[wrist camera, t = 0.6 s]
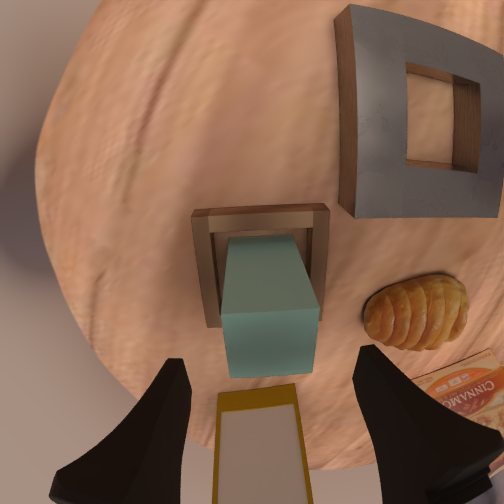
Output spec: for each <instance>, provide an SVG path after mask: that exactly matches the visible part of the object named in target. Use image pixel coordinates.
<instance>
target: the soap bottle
mask: <svg viewBox="0 0 504 504" xmlns="http://www.w3.org/2000/svg"><path fill="white" fill-rule="evenodd" d="M212 491H213V492H212V504H313V497H312V490H311V483H310V476H309V470H308V463H307V457H306V450H305V444H304V438H303V431H302V425H301V419H300V413H299V407H298V401H297V395H296V389H295V383H294V384H288V385H282V386H275V387H268V388H261V389H253V390H245V391H236V392H226V393H218V403H217V418H216V434H215V451H214V470H213V490H212Z"/></svg>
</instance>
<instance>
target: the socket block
mask: <svg viewBox="0 0 504 504" xmlns="http://www.w3.org/2000/svg"><path fill="white" fill-rule="evenodd" d="M334 25H335V36H336V48H337V62H338V80H339V106H340V176H339V204H340V205H341V206H342V207H343V208H344V209H345V210H346V211H347V212H348V213H349V214H350V215H351V216H352V217H353V218H354V219H357V218H412V217H479V218H497V217H498V212H499V206H500V200H501V194H502V187H503V179H504V58H503V55H502V54H500V53H498V52H496V51H494V50H492V49H490V48H488V47H486V46H484V45H482V44H480V43H478V42H475V41H473V40H471V39H469V38H466V37H464V36H462V35H459V34H457V33H454V32H452V31H449V30H447V29H444V28H441V27H438V26H436V25H433V24H430V23H427V22H424V21H421V20H417V19H414V18H411V17H407V16H404V15H400V14H396V13H392V12H388V11H384V10H380V9H375V8H370V7H365V6H360V5H354V4H349V5H348V6H347V7H346V8H345V9H344V10H343V11H342V12H341V13H340V14H339V15H338V16H337V17H336V18H335V19H334ZM406 72H408V73H412V74H417V75H421V76H425V77H429V78H433V79H437V80H441V81H444V82H448V83H451V84H453V87H454V143H453V160H452V164H446V163H437V162H427V161H417V160H406V157H407V80H406Z"/></svg>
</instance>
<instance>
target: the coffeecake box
mask: <svg viewBox="0 0 504 504" xmlns="http://www.w3.org/2000/svg"><path fill="white" fill-rule="evenodd" d="M411 381H412V382H413V383H415V384H416V385H417V386H418V387H419V388H421V389H422V390H423V391H424V392H426V393H427V394H428V395H429V396H431V397H432V398H434V399H435V400H437V401H438V402H439V403H441V404H442V405H444V406H445V407H447V408H449V409H450V410H452V411H454V412H456V413H458V414H459V415H461V416H463V417H465V418H467V419H469V420H472V421H474V422H476V423H479V424H481V425H484V426H487V427H490V428H493V429H496V430H499V431H500V433H501V435H502V437H503V438H504V368H503V366H502V365H501V364H500V362H499V361H498V360H497V358H496V357H495V356H494V354H493V353H492V352H491V350H490V349H487V350H485V351H483V352H481V353H479V354H477V355H474V356H472V357H470V358H468V359H465V360H463V361H461V362H458V363H456V364H454V365H451V366H449V367H446V368H443V369H441V370H438V371H435V372H433V373H430V374H427V375H424V376H421V377H418V378H415V379H412V380H411ZM489 467H490V469H491V472H490V473H489V474H488V476H489V478H491V477H492V476H494V475H495V474H497V473H498V472H500V471H501V470H503V469H504V452H503V453H502V454H501V455H500V456H499V457H498V458H497V459H496V460H494V461H493V462H492V463H491V464H490V465H489Z"/></svg>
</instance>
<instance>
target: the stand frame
mask: <svg viewBox="0 0 504 504" xmlns="http://www.w3.org/2000/svg"><path fill="white" fill-rule="evenodd" d="M329 219H330V210H329V209H328V208H327V207H326V206H325V205H324V203H321V204H289V205H265V206H246V207H228V208H213V209H198V210H194V212H193V214H192V216H191V223H192V231H193V239H194V246H195V254H196V261H197V268H198V274H199V281H200V287H201V294H202V300H203V306H204V312H205V318H206V324H207V328H214V327H223V326H222V319H221V308H222V303H221V298H220V290H219V281H218V273H217V264H216V255H215V246H214V236H213V232H230V231H248V230H267V229H288V228H308V230H307V261H306V272H307V275H308V277H309V280H310V283H311V285H312V288H313V291H314V293H315V296H316V299H317V302H318V304H319V307H320V311H319V321H322V311H323V301H324V291H325V280H326V267H327V254H328V238H329Z"/></svg>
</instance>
